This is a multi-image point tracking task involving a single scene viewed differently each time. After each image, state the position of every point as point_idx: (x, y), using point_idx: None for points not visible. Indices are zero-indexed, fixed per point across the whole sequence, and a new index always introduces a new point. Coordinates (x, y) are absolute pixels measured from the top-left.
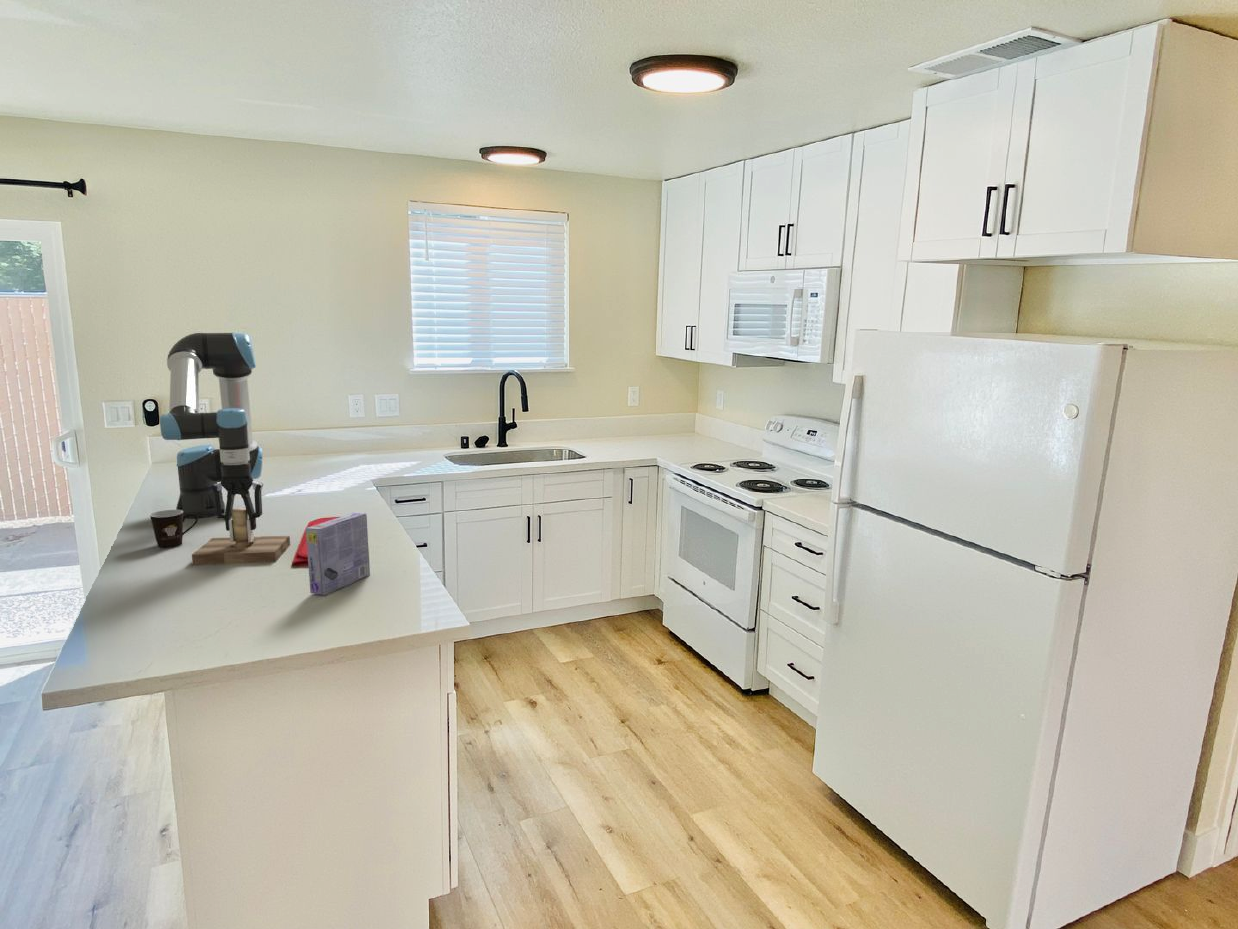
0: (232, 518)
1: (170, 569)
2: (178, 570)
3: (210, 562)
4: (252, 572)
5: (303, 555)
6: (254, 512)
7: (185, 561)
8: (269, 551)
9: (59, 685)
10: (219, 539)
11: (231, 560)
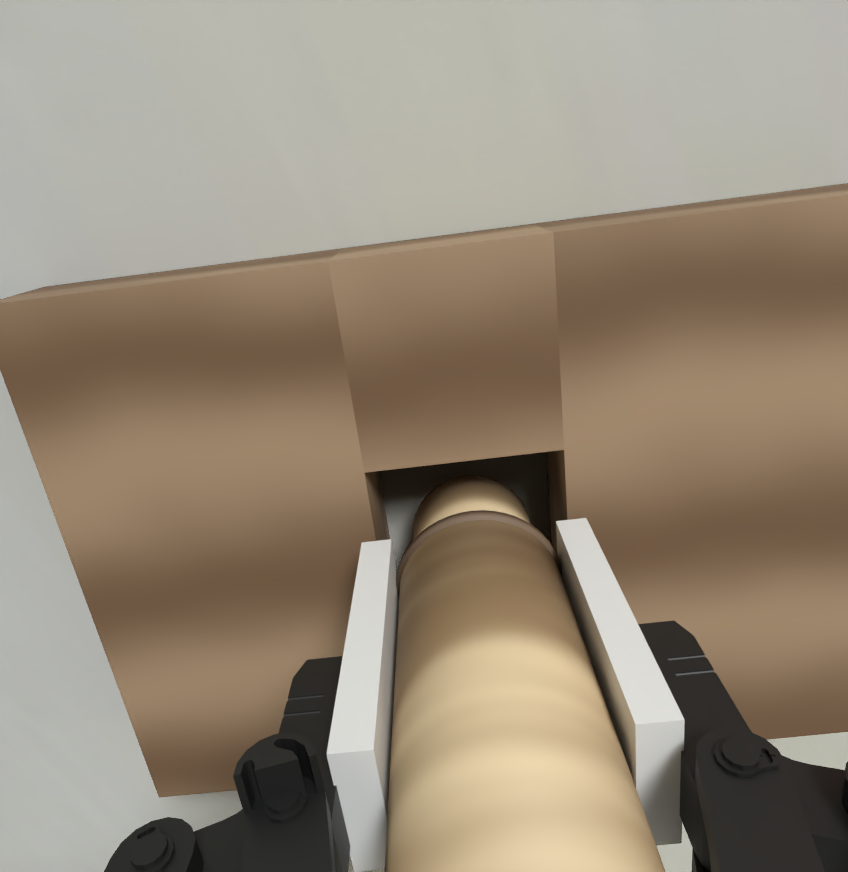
0: (343, 762)
1: (93, 796)
2: (162, 811)
3: None
4: (683, 835)
5: None
6: (805, 849)
7: (74, 655)
8: (798, 719)
9: None
10: (107, 367)
11: None
